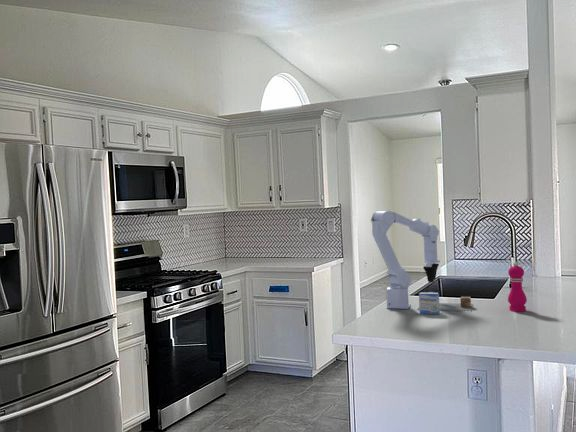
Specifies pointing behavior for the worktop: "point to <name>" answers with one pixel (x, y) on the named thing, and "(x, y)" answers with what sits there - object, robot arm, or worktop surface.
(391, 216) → the robot arm
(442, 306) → the mat
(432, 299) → the medicine box
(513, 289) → the pepper mill
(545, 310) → the worktop surface
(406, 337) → the worktop surface
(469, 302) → the walnut block
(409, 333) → the worktop surface
